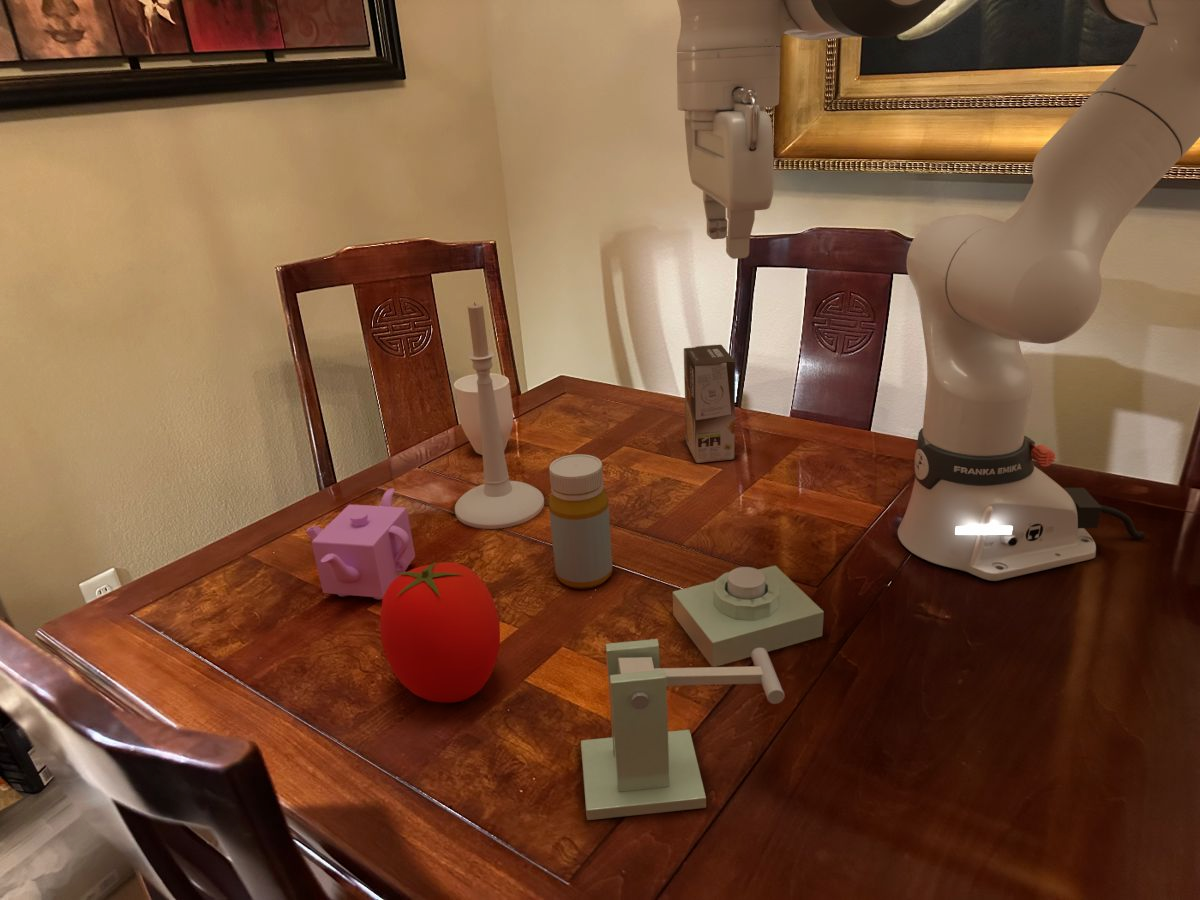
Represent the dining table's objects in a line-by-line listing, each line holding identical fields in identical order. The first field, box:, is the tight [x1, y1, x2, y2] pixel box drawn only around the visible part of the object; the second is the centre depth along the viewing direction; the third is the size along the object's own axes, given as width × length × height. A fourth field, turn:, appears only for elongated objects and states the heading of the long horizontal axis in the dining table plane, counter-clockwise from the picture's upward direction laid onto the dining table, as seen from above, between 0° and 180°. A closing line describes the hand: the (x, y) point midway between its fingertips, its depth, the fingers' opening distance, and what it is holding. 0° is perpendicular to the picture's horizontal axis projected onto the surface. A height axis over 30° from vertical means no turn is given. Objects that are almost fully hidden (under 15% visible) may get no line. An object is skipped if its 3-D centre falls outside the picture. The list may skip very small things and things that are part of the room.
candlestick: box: [454, 301, 545, 530], centre depth 115 cm, size 13×13×30 cm
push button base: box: [672, 565, 825, 667], centre depth 91 cm, size 13×10×5 cm
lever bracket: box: [580, 638, 707, 821], centre depth 71 cm, size 10×8×13 cm
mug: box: [453, 372, 514, 456], centre depth 138 cm, size 12×9×12 cm
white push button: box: [727, 566, 766, 600], centre depth 90 cm, size 4×4×2 cm
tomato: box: [379, 561, 501, 704], centre depth 83 cm, size 13×11×14 cm
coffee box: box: [683, 344, 736, 464], centre depth 131 cm, size 9×6×16 cm
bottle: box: [548, 453, 613, 590], centre depth 100 cm, size 7×7×15 cm
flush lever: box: [617, 648, 786, 705], centre depth 69 cm, size 13×6×2 cm, turn 94°
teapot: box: [305, 487, 416, 600], centre depth 103 cm, size 18×13×10 cm
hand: (726, 247), depth 79 cm, fingers open, 8 cm apart
